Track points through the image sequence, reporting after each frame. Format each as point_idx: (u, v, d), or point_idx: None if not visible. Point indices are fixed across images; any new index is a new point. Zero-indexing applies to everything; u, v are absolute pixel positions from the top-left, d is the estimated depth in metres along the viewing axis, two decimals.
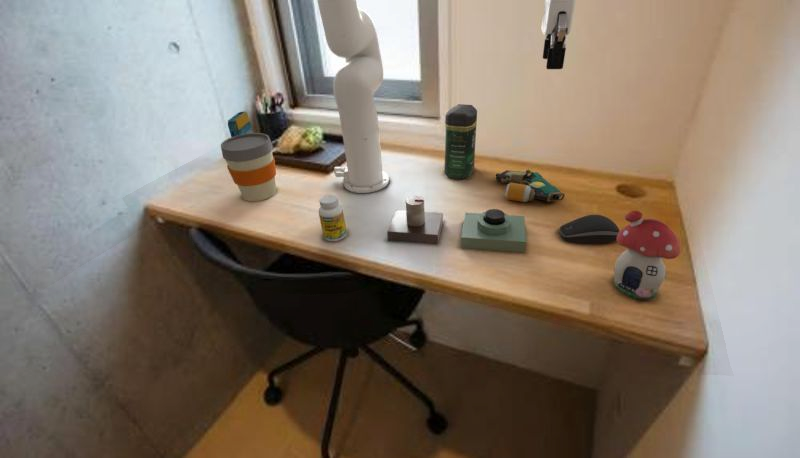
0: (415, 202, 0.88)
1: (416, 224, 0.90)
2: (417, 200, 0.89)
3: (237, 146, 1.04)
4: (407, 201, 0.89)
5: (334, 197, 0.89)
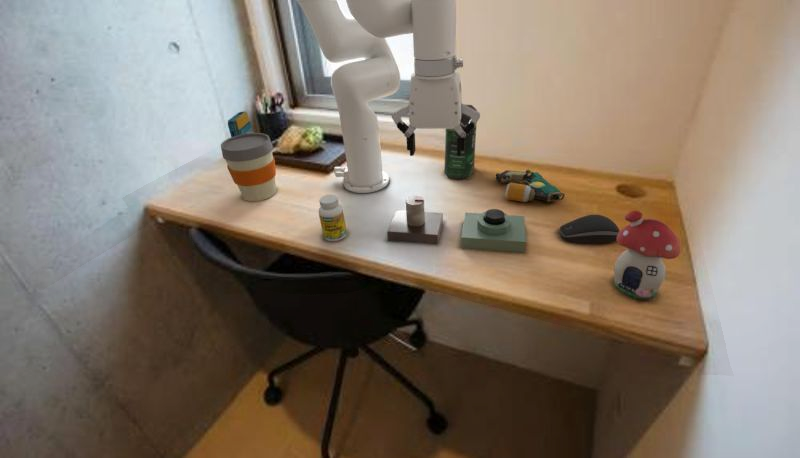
0: (415, 202, 0.88)
1: (416, 224, 0.90)
2: (417, 200, 0.89)
3: (237, 146, 1.04)
4: (407, 201, 0.89)
5: (334, 197, 0.89)
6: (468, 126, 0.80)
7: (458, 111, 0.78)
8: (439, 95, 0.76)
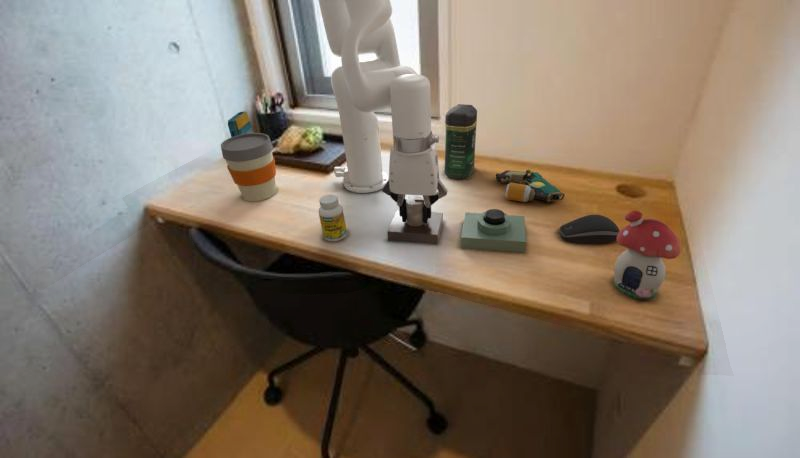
0: (415, 202, 0.88)
1: (416, 224, 0.90)
2: (417, 200, 0.89)
3: (237, 146, 1.04)
4: (407, 201, 0.89)
5: (334, 197, 0.89)
6: (433, 198, 0.87)
7: (434, 181, 0.83)
8: (416, 167, 0.82)
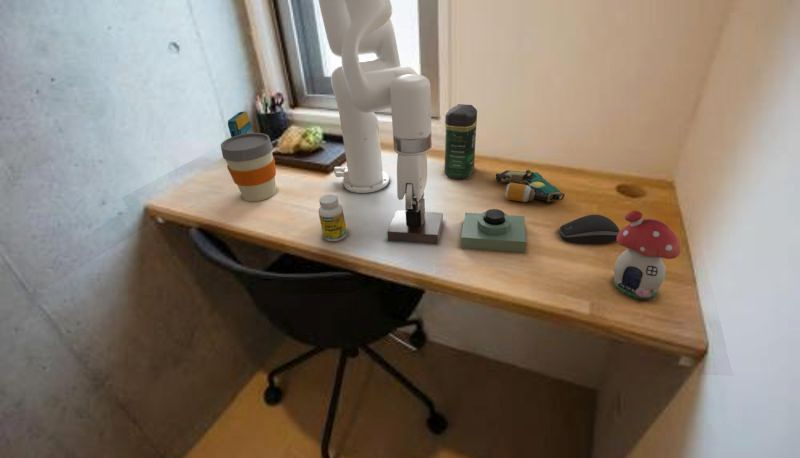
0: None
1: (424, 219, 0.92)
2: None
3: (237, 146, 1.04)
4: None
5: (334, 197, 0.89)
6: None
7: None
8: (426, 160, 0.85)
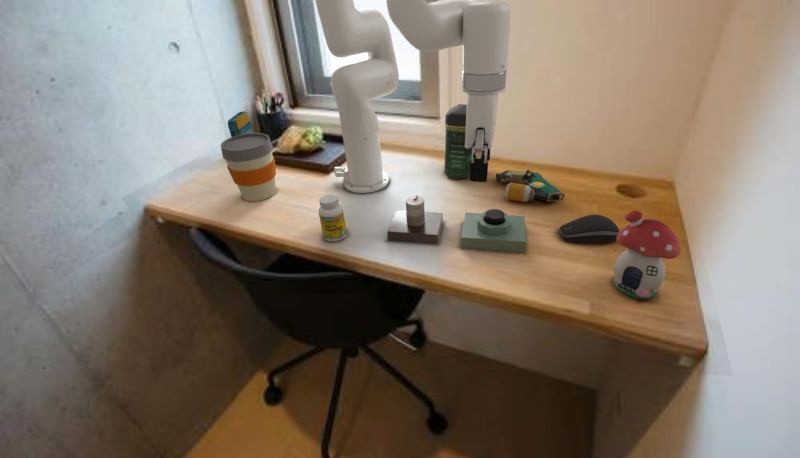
0: (418, 199, 0.89)
1: (424, 219, 0.92)
2: (416, 198, 0.89)
3: (237, 146, 1.04)
4: (417, 203, 0.88)
5: (334, 197, 0.89)
6: None
7: None
8: None
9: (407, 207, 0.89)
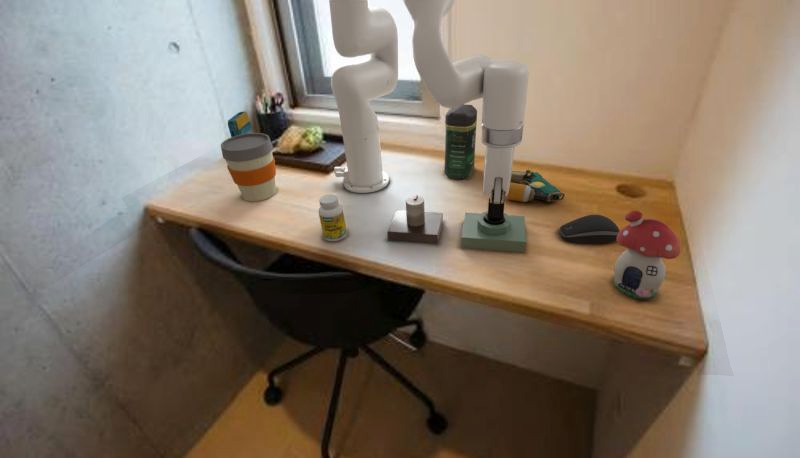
0: (418, 199, 0.89)
1: (424, 219, 0.92)
2: (416, 198, 0.89)
3: (237, 146, 1.04)
4: (417, 203, 0.88)
5: (334, 197, 0.89)
6: None
7: None
8: None
9: (407, 207, 0.89)
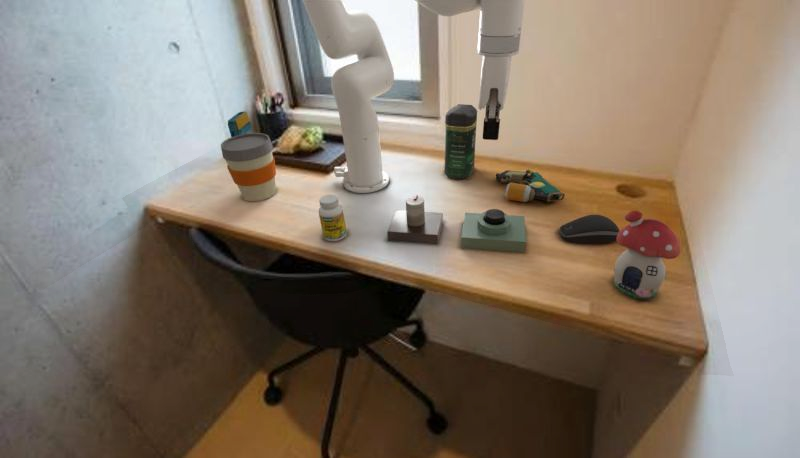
0: (418, 199, 0.89)
1: (424, 219, 0.92)
2: (416, 198, 0.89)
3: (237, 146, 1.04)
4: (417, 203, 0.88)
5: (334, 197, 0.89)
6: None
7: None
8: None
9: (407, 207, 0.89)
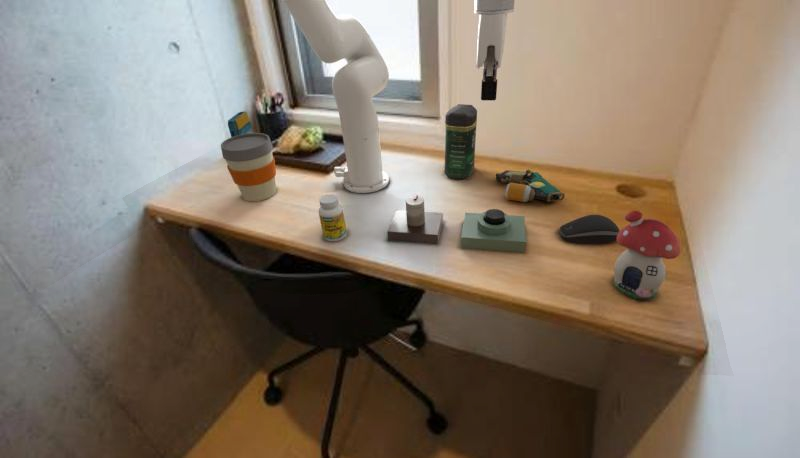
0: (418, 199, 0.89)
1: (424, 219, 0.92)
2: (416, 198, 0.89)
3: (237, 146, 1.04)
4: (417, 203, 0.88)
5: (334, 197, 0.89)
6: None
7: None
8: None
9: (407, 207, 0.89)
